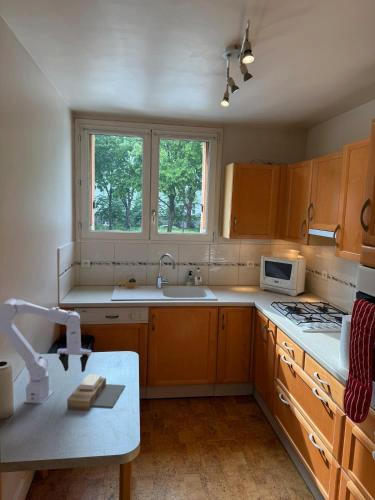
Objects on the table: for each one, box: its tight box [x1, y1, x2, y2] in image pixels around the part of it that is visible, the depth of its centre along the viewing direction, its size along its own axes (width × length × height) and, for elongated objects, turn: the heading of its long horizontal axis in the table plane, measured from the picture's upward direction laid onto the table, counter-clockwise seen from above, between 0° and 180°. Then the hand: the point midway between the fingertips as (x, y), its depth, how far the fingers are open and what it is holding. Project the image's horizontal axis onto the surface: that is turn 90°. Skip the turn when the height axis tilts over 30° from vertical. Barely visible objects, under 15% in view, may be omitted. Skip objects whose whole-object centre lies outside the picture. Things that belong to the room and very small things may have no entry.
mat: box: [92, 383, 126, 409], centre depth 145 cm, size 17×8×1 cm, turn 173°
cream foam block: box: [79, 373, 102, 390], centre depth 147 cm, size 9×6×2 cm, turn 173°
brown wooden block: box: [66, 377, 107, 412], centre depth 144 cm, size 19×9×4 cm, turn 173°
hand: (75, 370), depth 148 cm, fingers open, 7 cm apart
